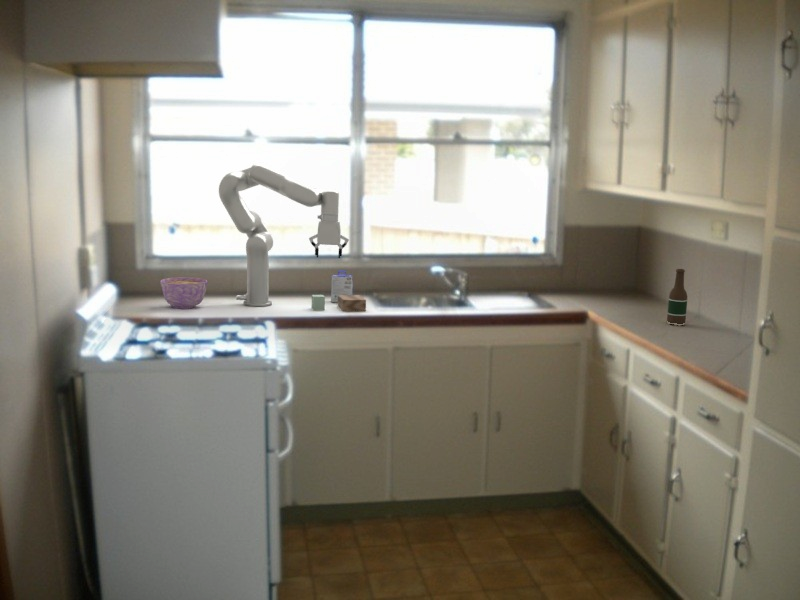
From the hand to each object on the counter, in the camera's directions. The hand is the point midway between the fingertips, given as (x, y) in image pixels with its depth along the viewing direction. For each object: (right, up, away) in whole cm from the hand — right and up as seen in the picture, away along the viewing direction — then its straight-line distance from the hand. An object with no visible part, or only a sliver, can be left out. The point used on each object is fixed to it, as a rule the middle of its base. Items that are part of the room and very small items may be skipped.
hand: (328, 257), depth 397 cm
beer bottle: (+150, -29, -8) cm, 153 cm away
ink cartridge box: (+4, -20, +21) cm, 29 cm away
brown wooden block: (+10, -23, +3) cm, 25 cm away
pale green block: (-5, -23, 0) cm, 23 cm away
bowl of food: (-62, -22, -7) cm, 66 cm away
